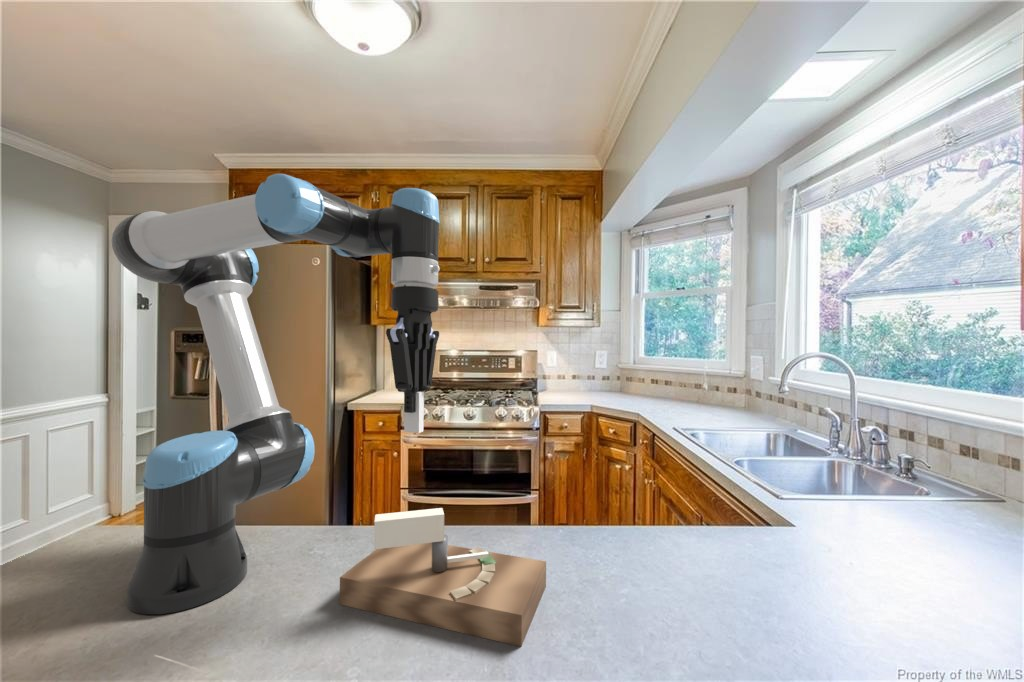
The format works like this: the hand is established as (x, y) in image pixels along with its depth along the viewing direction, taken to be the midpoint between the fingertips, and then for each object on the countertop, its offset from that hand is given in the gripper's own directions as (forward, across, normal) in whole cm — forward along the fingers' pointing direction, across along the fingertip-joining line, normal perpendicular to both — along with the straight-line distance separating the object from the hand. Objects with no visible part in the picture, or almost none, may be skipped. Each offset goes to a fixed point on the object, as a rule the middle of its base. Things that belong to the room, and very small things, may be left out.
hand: (413, 431), depth 69 cm
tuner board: (+24, -2, -7) cm, 25 cm away
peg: (+20, -2, -6) cm, 21 cm away
